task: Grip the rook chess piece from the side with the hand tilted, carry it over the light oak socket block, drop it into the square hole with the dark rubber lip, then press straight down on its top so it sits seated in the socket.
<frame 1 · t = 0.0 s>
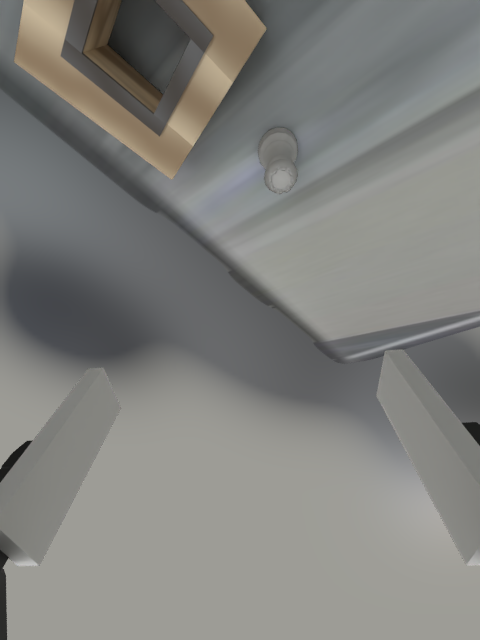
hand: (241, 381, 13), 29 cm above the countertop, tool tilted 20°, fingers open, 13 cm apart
socket block: (152, 38, 25), on the countertop
rook chess piece: (277, 147, 32), on the countertop
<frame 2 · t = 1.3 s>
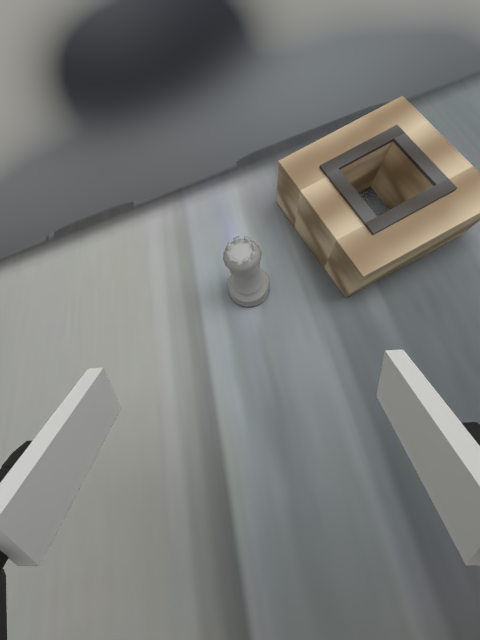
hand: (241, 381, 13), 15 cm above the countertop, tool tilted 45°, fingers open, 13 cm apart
socket block: (363, 218, 31), on the countertop
rook chess piece: (249, 289, 30), on the countertop
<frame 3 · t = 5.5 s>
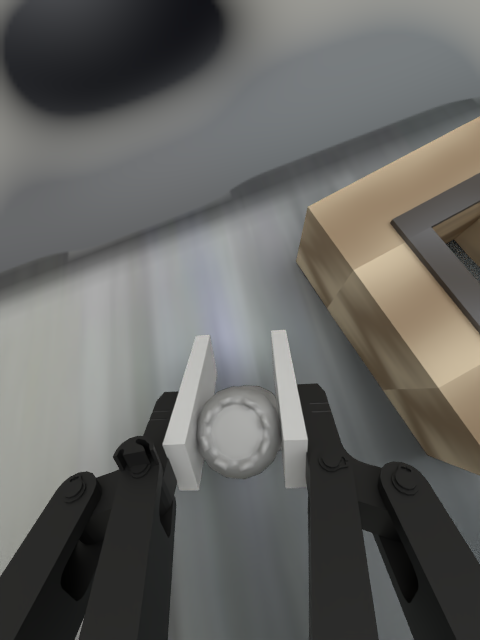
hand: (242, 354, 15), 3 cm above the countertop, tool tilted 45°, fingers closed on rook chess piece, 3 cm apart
socket block: (445, 296, 18), on the countertop
rook chess piece: (250, 422, 17), on the countertop, touching gripper
when the fingers open (10 cm above the countertop, at t = 8.7 s): rook chess piece drops 7 cm, resting in socket block.
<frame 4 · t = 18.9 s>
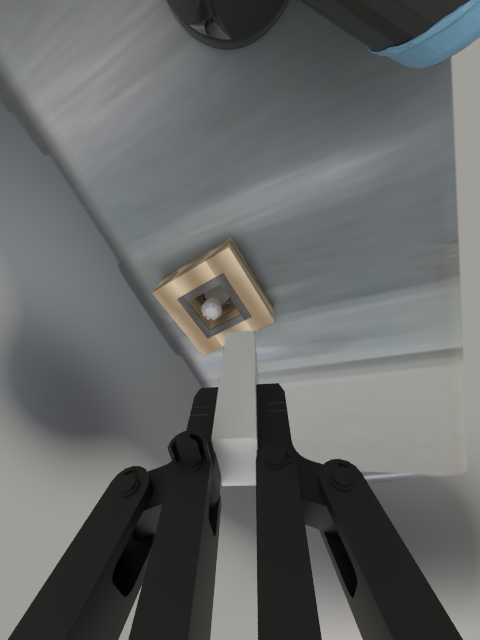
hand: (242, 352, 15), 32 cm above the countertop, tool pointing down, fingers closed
socket block: (218, 291, 49), on the countertop
rook chess piece: (218, 289, 49), resting in socket block
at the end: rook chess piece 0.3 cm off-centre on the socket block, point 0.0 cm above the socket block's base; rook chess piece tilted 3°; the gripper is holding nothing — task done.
